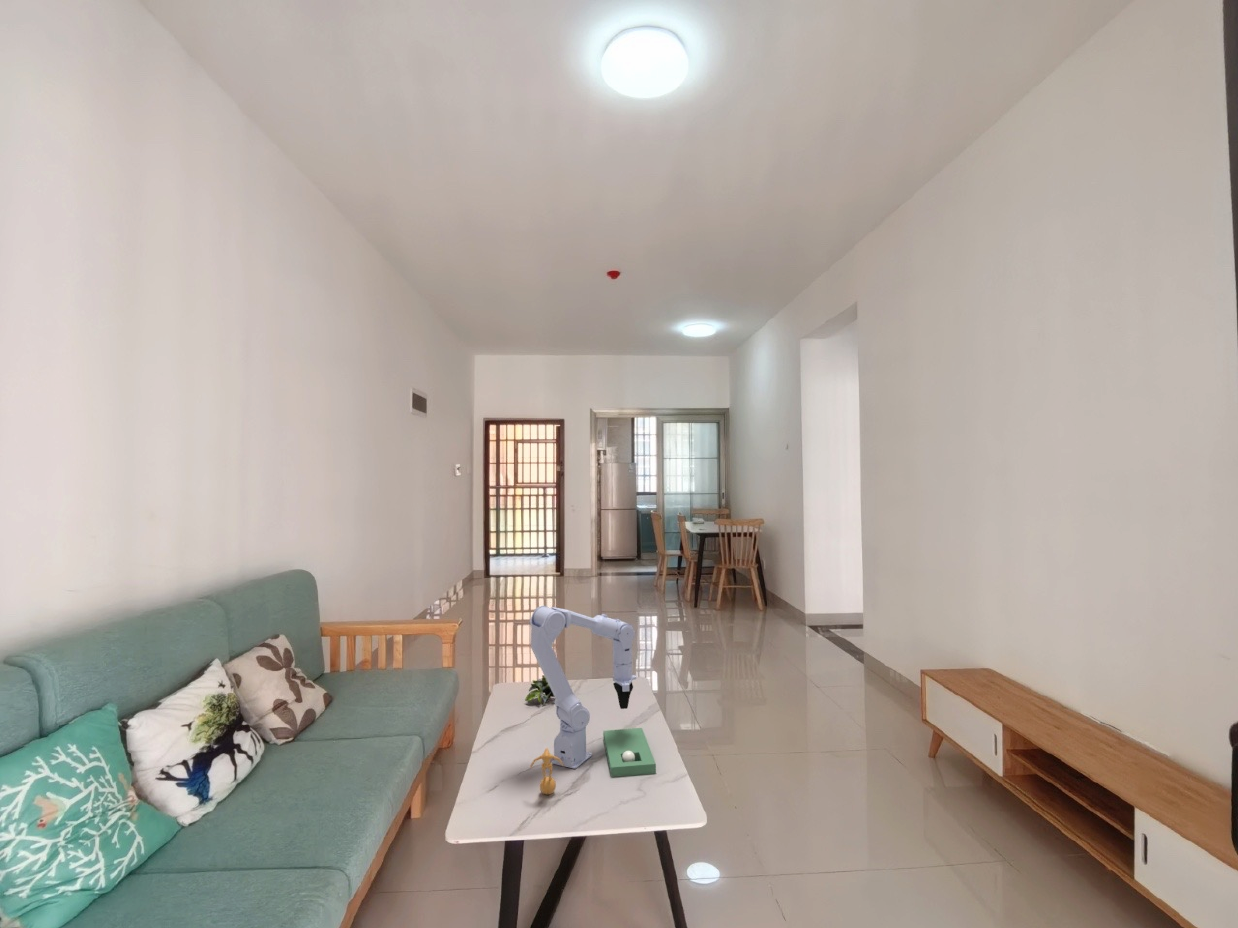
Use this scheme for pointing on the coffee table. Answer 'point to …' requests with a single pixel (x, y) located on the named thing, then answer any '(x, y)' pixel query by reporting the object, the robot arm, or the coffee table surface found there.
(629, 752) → the ball
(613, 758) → the putting mat
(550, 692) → the passion flower
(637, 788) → the coffee table surface
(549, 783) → the figurine
